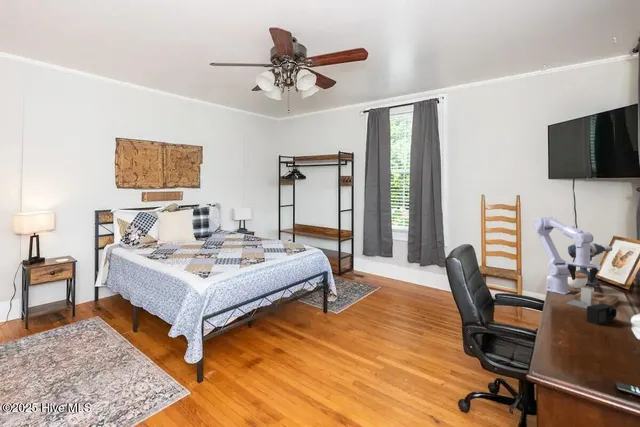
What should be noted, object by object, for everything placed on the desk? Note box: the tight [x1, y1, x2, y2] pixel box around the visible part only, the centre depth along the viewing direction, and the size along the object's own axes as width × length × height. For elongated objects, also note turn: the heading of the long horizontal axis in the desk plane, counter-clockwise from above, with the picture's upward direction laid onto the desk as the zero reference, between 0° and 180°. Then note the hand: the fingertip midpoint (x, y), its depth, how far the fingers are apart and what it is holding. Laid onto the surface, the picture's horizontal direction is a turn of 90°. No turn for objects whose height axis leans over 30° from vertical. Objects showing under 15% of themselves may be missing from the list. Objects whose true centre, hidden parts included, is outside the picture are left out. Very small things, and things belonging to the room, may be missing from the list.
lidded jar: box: [568, 270, 588, 289], centre depth 189 cm, size 11×11×9 cm
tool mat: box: [565, 299, 597, 310], centre depth 158 cm, size 14×10×1 cm
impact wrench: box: [567, 242, 613, 286], centre depth 194 cm, size 8×23×25 cm, turn 78°
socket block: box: [574, 291, 620, 306], centre depth 166 cm, size 14×14×2 cm
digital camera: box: [586, 304, 618, 326], centre depth 138 cm, size 10×5×7 cm, turn 108°
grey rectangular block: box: [580, 285, 595, 306], centre depth 158 cm, size 4×4×9 cm
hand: (582, 281), depth 167 cm, fingers open, 7 cm apart
